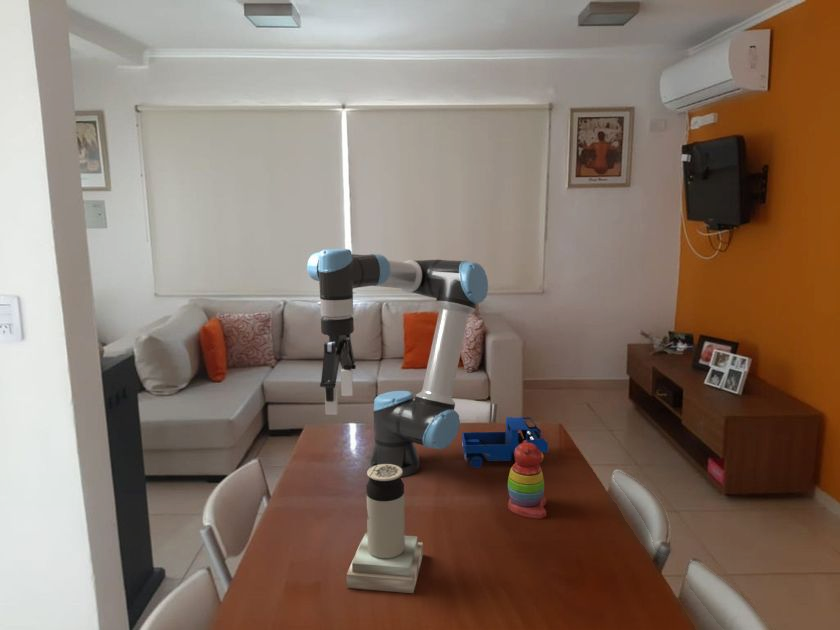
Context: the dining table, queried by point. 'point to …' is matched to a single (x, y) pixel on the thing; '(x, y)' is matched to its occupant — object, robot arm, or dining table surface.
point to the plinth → (385, 578)
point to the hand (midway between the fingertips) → (339, 404)
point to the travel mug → (385, 511)
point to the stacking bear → (527, 482)
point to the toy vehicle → (500, 442)
